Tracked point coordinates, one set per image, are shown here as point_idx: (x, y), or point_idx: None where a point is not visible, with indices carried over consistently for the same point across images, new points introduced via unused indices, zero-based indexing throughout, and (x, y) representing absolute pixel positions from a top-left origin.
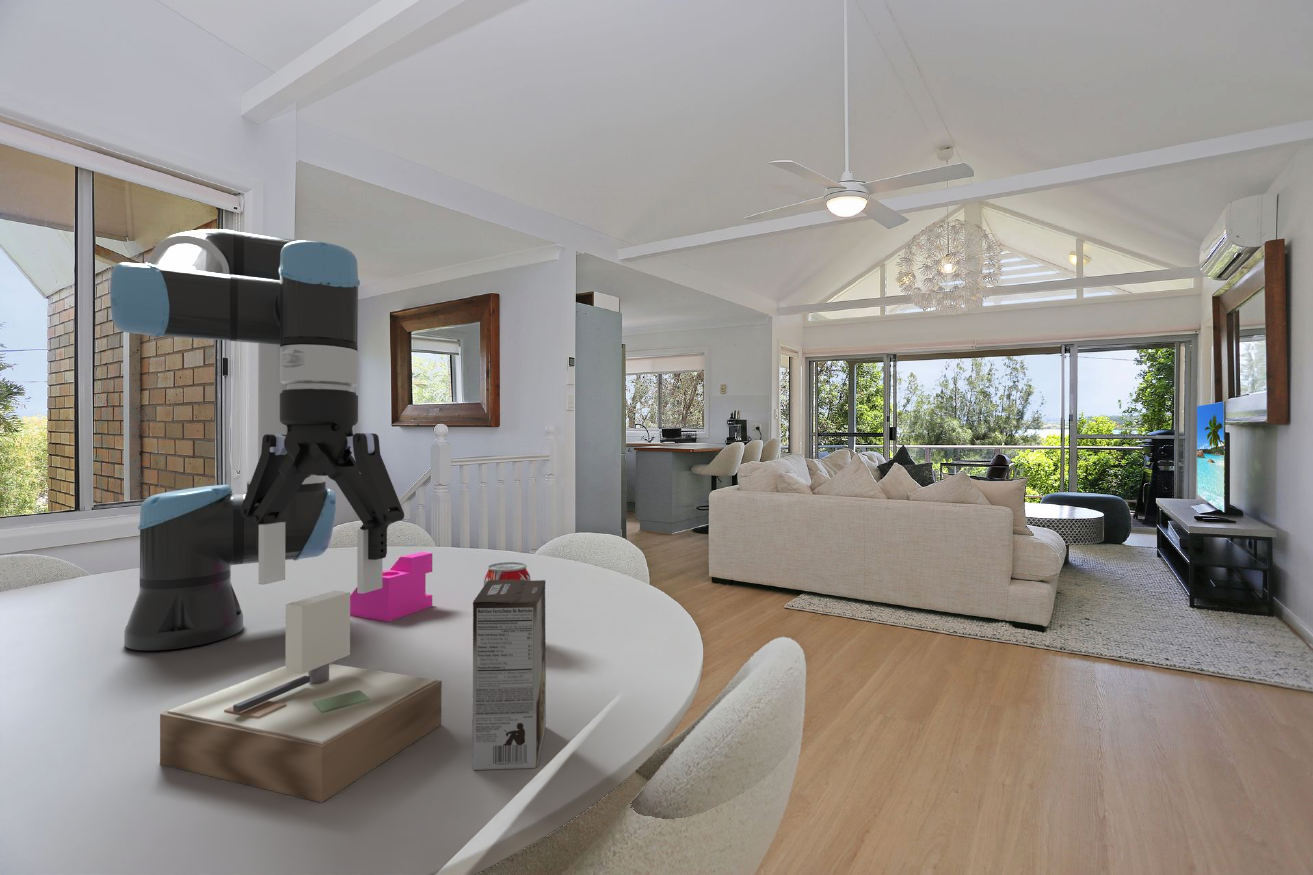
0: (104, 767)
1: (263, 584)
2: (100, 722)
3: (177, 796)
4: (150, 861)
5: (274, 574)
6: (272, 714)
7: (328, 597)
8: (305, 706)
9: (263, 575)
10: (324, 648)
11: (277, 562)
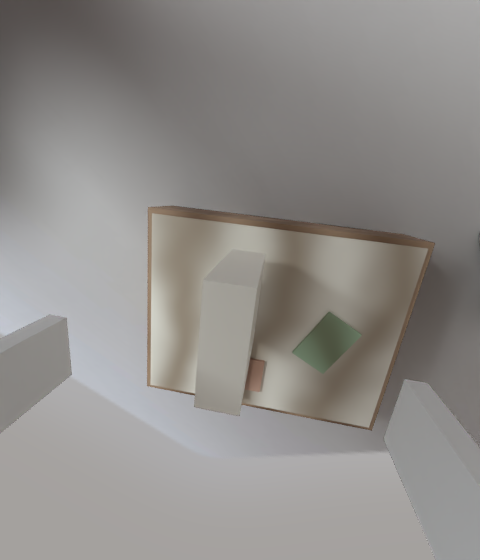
0: (131, 365)
1: (70, 374)
2: (33, 299)
3: None
4: (283, 452)
5: (53, 360)
6: (267, 381)
7: (241, 346)
8: (289, 359)
9: (52, 389)
10: (256, 314)
11: (20, 371)
